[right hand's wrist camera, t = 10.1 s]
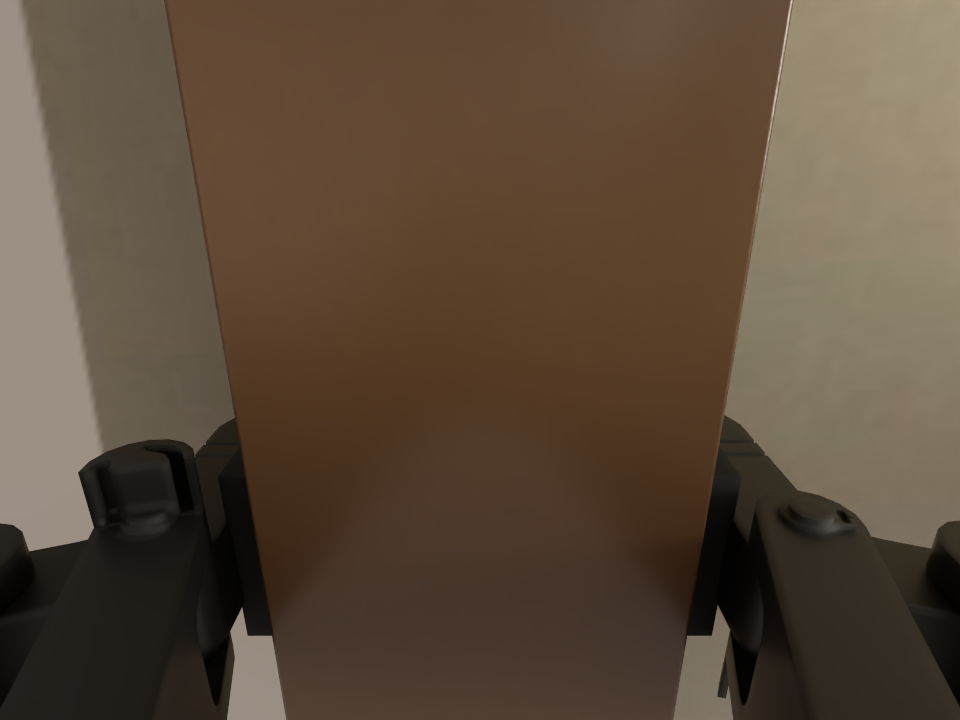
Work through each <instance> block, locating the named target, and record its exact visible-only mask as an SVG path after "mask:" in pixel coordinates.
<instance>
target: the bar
mask: <svg viewBox="0 0 960 720" xmlns="http://www.w3.org/2000/svg"><path fill="white" fill-rule="evenodd" d="M164 1H165V7H166V13H167V19H168V24H169V30H170V36H171V42H172V48H173V54H174V60H175V66H176V72H177V77H178V83H179V89H180V95H181V101H182V107H183V113H184V119H185V125H186V131H187V136H188V142H189V148H190V154H191V160H192V166H193V172H194V178H195V184H196V189H197V195H198V201H199V207H200V213H201V219H202V225H203V231H204V237H205V242H206V248H207V254H208V260H209V266H210V272H211V278H212V284H213V290H214V296H215V301H216V307H217V313H218V319H219V325H220V331H221V337H222V343H223V349H224V354H225V360H226V366H227V372H228V378H229V384H230V390H231V396H232V402H233V407H234V413H235V419H236V425H237V431H238V437H239V443H240V449H241V455H242V461H243V466H244V472H245V478H246V484H247V490H248V496H249V502H250V508H251V514H252V519H253V525H254V531H255V537H256V543H257V549H258V555H259V561H260V567H261V573H262V578H263V584H264V590H265V596H266V602H267V608H268V614H269V620H270V626H271V631H272V637H273V643H274V649H275V655H276V661H277V667H278V673H279V679H280V684H281V690H282V696H283V702H284V708H285V714H286V720H673V717H674V711H675V705H676V699H677V693H678V687H679V681H680V675H681V669H682V663H683V657H684V651H685V645H686V639H687V633H688V627H689V621H690V615H691V609H692V603H693V597H694V591H695V585H696V579H697V573H698V567H699V561H700V555H701V549H702V543H703V537H704V531H705V525H706V520H707V514H708V508H709V502H710V496H711V490H712V484H713V478H714V472H715V466H716V460H717V454H718V448H719V442H720V436H721V430H722V424H723V418H724V412H725V406H726V400H727V394H728V388H729V382H730V376H731V370H732V364H733V358H734V352H735V346H736V340H737V334H738V328H739V323H740V317H741V311H742V305H743V299H744V293H745V287H746V281H747V275H748V269H749V263H750V257H751V251H752V245H753V239H754V233H755V227H756V221H757V215H758V209H759V203H760V197H761V191H762V185H763V179H764V173H765V167H766V161H767V155H768V149H769V143H770V137H771V131H772V126H773V120H774V114H775V108H776V102H777V96H778V90H779V84H780V78H781V72H782V66H783V60H784V54H785V48H786V42H787V36H788V30H789V24H790V18H791V12H792V6H793V0H164Z"/></svg>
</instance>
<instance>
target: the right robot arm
mask: <svg viewBox="0 0 960 720" xmlns="http://www.w3.org/2000/svg"><path fill="white" fill-rule="evenodd" d="M78 474H79V477H80V480H81V484H82V487H83V491H84V494H85V498H86V501H87V505H88V508H89V512H90V515H91V518H92V522H93V525H94V529H93V531H92V533H91V535H90V537H89V539H88V540H84V541H80V542H76V543H71V544H66V545H60V546H55V547H50V548H45V549H40V550H35V551H29V550H28V547H27V544H26V541H25V538H24V536H23V533H22V531H20V530H19V529H18V528H16V527H15V526H13V525H8V524H0V720H227V714H228V706H229V698H230V690H231V683H232V675H233V667H234V659H235V656H234V649H233V643H232V638H231V633H230V630H231V628H232V626H233V624H234V622H235V620H236V618H237V616H238V614H239V612H240V610H241V608H243V613H244V618H245V623H246V629H247V634H248V636H272V631H271V626H270V620H269V614H268V608H267V602H266V596H265V590H264V584H263V578H262V573H261V567H260V561H259V555H258V549H257V543H256V537H255V531H254V525H253V519H252V514H251V508H250V502H249V496H248V490H247V484H246V478H245V472H244V466H243V461H242V455H241V449H240V443H239V437H238V431H237V425H236V419H235V418H234V419H232V420H230V421H228V422H227V423H225V424H223V425H222V426H220V427H219V428H218V429H217V430H216V431H215V432H214V434H213V435H212V436H211V437H210V438H209V439H208V441H207V442H206V445H203V446H202V448H201V449H200V450H199V451H198V452H197V453H196V454H195V456H194V452H193V448H191V447H190V446H188V445H187V444H186V443H184V442H180V441H175V440H169V439H167V440H147V441H142V442H137V443H132V444H127V445H125V446H122V447H119V448H116V449H113V450H110V451H108V452H106V453H104V454H102V455H100V456H98V457H97V458H95V459H93V460H91V461H90V462H88V463H87V464H86V465H85V466H84V467H83V468H82V469H81V470H80V471H79V472H78ZM717 605H718V606H719V608H720V610H721V612H722V614H723V616H724V618H725V620H726V622H727V624H728V626H729V628H730V633H729V638H728V643H727V648H726V653H725V658H724V663H723V668H722V673H721V678H720V682H719V689H718V696H717V697H721V698H726V694H727V690H728V686H729V689H730V697H731V704H732V712H733V720H960V521H953V522H947V523H946V524H944V525H943V526H941V527H940V528H939V529H938V531H937V534H936V537H935V540H934V542H933V545H932V548H931V549H929V548H924V547H919V546H914V545H909V544H903V543H898V542H893V541H888V540H883V539H878V538H874V537H871V536H870V534H869V532H868V530H867V528H866V526H865V525H864V524H863V523H862V522H861V520H860V519H859V518H858V517H857V516H856V515H855V514H854V513H852V512H851V511H849V510H848V509H846V508H845V507H843V506H842V505H840V504H839V503H836V502H834V501H831V500H829V499H827V498H824V497H822V496H819V495H815V494H811V493H806V492H802V491H798V490H797V489H796V488H795V487H794V486H793V485H792V483H791V482H790V481H789V480H788V479H787V478H786V477H785V475H784V474H783V473H782V472H781V471H780V470H779V469H778V467H777V466H776V465H775V464H774V463H773V462H772V460H771V459H770V458H769V457H768V456H765V452H764V451H763V450H762V449H761V448H760V447H759V445H758V444H757V443H754V440H753V439H752V437H751V436H750V435H749V434H748V433H747V432H746V430H745V429H744V428H743V427H742V426H741V425H740V424H738V423H737V422H735V421H733V420H731V419H730V418H728V417H726V416H725V415H724V418H723V424H722V430H721V436H720V442H719V448H718V454H717V460H716V466H715V472H714V478H713V484H712V490H711V496H710V502H709V508H708V514H707V520H706V525H705V531H704V537H703V543H702V549H701V555H700V561H699V567H698V573H697V579H696V585H695V591H694V597H693V603H692V609H691V615H690V621H689V627H688V633H687V636H712V632H713V626H714V621H715V616H716V610H717Z"/></svg>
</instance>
